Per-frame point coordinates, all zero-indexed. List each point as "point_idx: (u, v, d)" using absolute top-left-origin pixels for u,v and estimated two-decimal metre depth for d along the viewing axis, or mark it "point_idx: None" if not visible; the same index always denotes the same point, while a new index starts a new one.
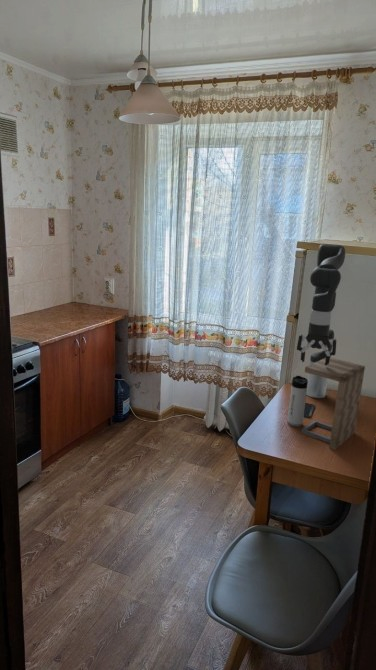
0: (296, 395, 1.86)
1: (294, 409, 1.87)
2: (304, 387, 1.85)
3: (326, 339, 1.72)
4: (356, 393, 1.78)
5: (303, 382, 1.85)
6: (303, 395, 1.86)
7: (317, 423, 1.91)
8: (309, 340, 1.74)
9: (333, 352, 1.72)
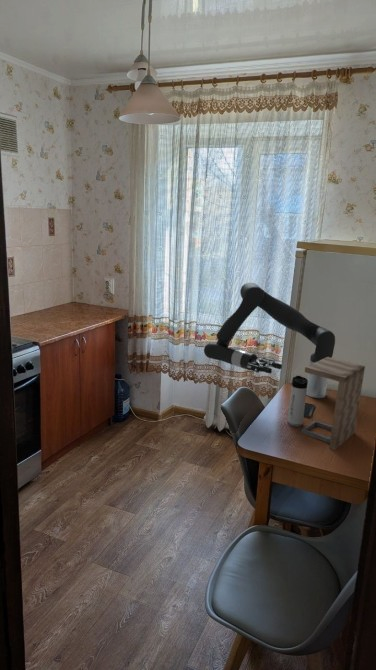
0: (296, 395, 1.86)
1: (294, 409, 1.87)
2: (304, 387, 1.85)
3: None
4: (356, 393, 1.78)
5: (303, 382, 1.85)
6: (303, 395, 1.86)
7: (317, 423, 1.91)
8: None
9: None
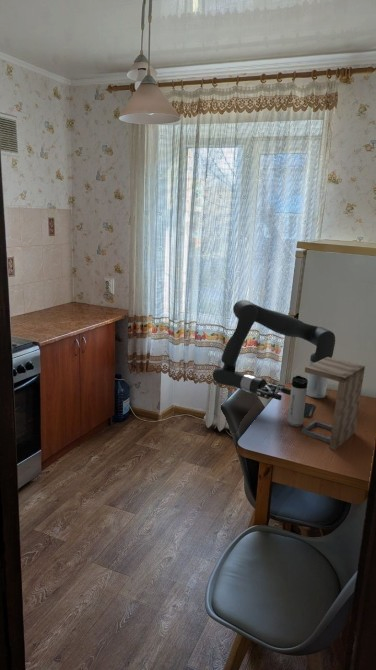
0: (296, 395, 1.86)
1: (294, 409, 1.87)
2: (304, 387, 1.85)
3: None
4: (356, 393, 1.78)
5: (303, 382, 1.85)
6: (303, 395, 1.86)
7: (317, 423, 1.91)
8: None
9: None
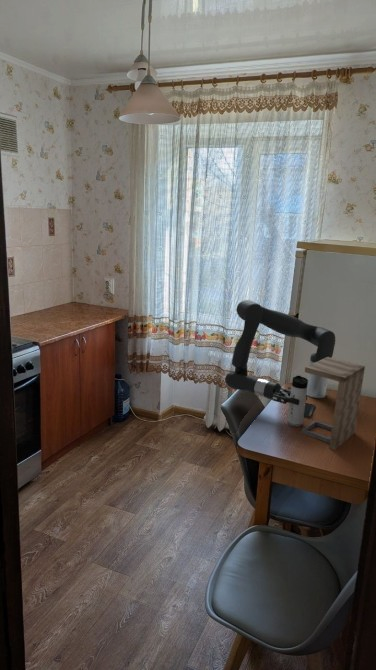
0: (296, 394, 1.86)
1: (294, 409, 1.87)
2: (304, 387, 1.85)
3: None
4: (356, 393, 1.78)
5: (303, 382, 1.85)
6: (303, 395, 1.86)
7: (317, 423, 1.91)
8: None
9: None
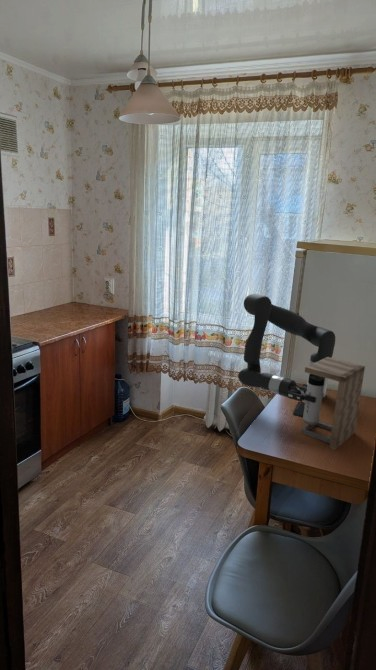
0: (312, 392, 1.81)
1: (310, 407, 1.83)
2: (321, 384, 1.80)
3: None
4: (356, 393, 1.78)
5: (320, 379, 1.80)
6: (320, 393, 1.81)
7: None
8: None
9: None
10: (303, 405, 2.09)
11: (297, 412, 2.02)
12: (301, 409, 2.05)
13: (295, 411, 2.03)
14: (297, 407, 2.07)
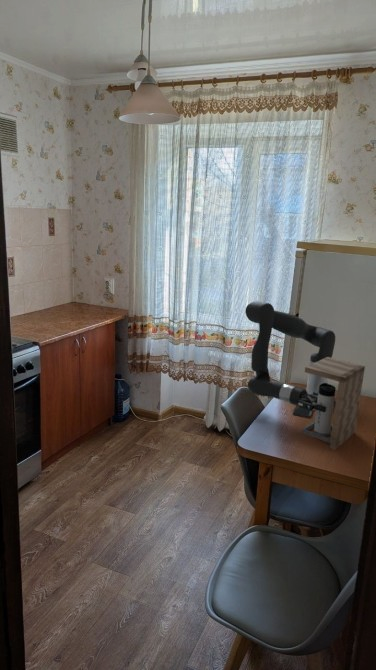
0: (323, 403, 1.79)
1: (321, 418, 1.80)
2: (332, 395, 1.78)
3: None
4: (356, 393, 1.78)
5: (331, 390, 1.79)
6: (331, 403, 1.79)
7: None
8: None
9: None
10: None
11: (297, 412, 2.02)
12: (301, 409, 2.05)
13: (295, 411, 2.03)
14: (297, 407, 2.07)
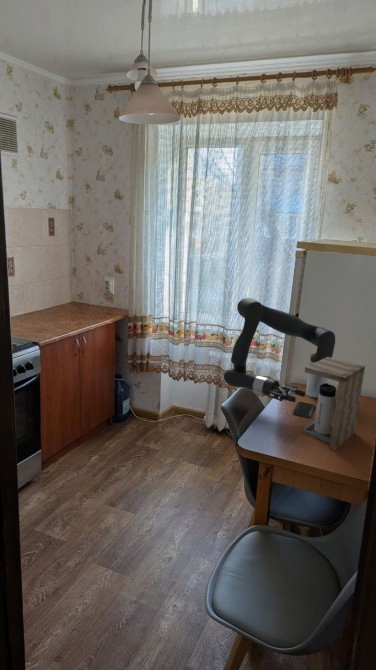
0: (324, 403, 1.79)
1: (321, 418, 1.80)
2: (332, 395, 1.78)
3: None
4: (356, 393, 1.78)
5: (331, 390, 1.78)
6: (331, 404, 1.79)
7: None
8: None
9: None
10: (303, 405, 2.09)
11: (297, 412, 2.02)
12: (301, 409, 2.05)
13: (295, 411, 2.03)
14: (297, 407, 2.07)
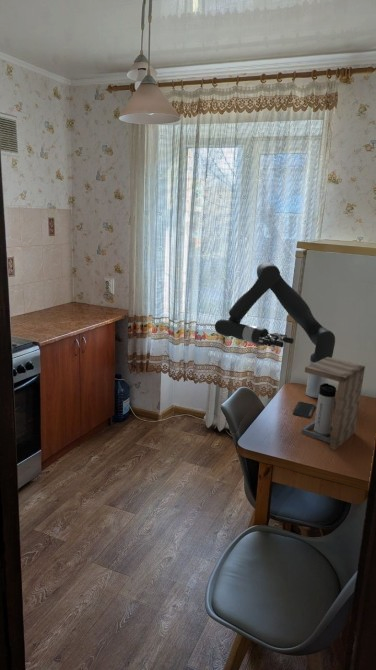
0: (324, 403, 1.79)
1: (321, 418, 1.80)
2: (332, 395, 1.78)
3: None
4: (356, 393, 1.78)
5: (331, 390, 1.78)
6: (331, 404, 1.79)
7: None
8: None
9: None
10: (303, 405, 2.09)
11: (297, 412, 2.02)
12: (301, 409, 2.05)
13: (295, 411, 2.03)
14: (297, 407, 2.07)
